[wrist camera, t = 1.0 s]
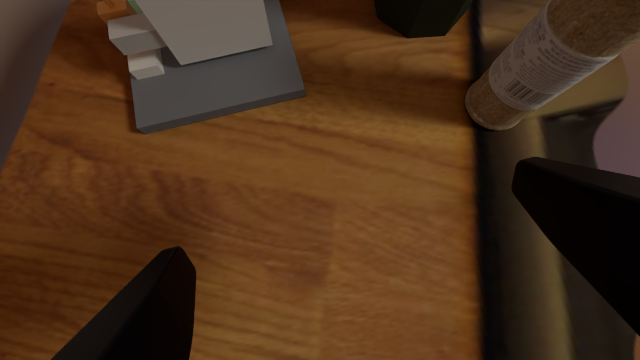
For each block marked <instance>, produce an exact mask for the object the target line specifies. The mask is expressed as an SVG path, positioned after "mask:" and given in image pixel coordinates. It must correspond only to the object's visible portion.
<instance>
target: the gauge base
mask: <svg viewBox="0 0 640 360" xmlns="http://www.w3.org/2000/svg"><path fill="white" fill-rule="evenodd" d="M263 1H264V6H265V10H266V15H267V20H268V25H269V30H270V34H271V39H272V44H273V45H270V46H266V47H261V48H257V49H252V50H248V51H243V52H239V53H234V54H230V55H225V56H221V57H216V58H212V59H207V60H202V61H198V62H193V63H189V64H184V65H181V64H180V63H179V62H178V60H177V59H176V57H175V56H174V55H173V53H172V52H171V50H170V49H169V48H168V46H166V47H162V48H157V49H152V50H148V51H143V52H139V53H134V54H129V55H127V57H128V65H129V72H130V78H131V86H132V94H133V102H134V110H135V118H136V127H137V129H138V130H139V131H141V132H142V133H144V134H148V133H152V132H156V131H161V130H165V129H169V128H173V127H177V126H182V125H186V124H190V123H194V122H198V121H203V120H207V119H211V118H215V117H220V116H224V115H228V114H232V113H236V112H241V111H245V110H249V109H253V108H257V107H262V106H266V105H270V104H274V103H278V102H283V101H287V100H291V99H295V98H300V97H304V96H306V95H305V87H304V83H303V80H302V77H301V73H300V70H299V66H298V63H297V60H296V56H295V53H294V49H293V46H292V43H291V39H290V36H289V32H288V29H287V26H286V22H285V19H284V15H283V12H282V8H281V5H280V2H279V0H263ZM128 2H129V3H130V4H131V6H132V7H133V8H134V10H135V11H136V12H137V14H141V13H143V11H142V10H141V8H140V7H139V6H138V4H137V3H136V1H135V0H128Z"/></svg>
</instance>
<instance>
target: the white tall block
mask: <svg viewBox="0 0 640 360" xmlns="http://www.w3.org/2000/svg"><path fill="white" fill-rule="evenodd" d="M135 1H136V3H137V4H138V6H139V7H140V8H141V10H142V11H143V13H141V14H136V15H132V16H127V17H122V18H117V19H112V20H107V22H108V31H109V40H110V41H111V42H112V43H113V44H114V45H115V46H116V47H117V48H118V49H119V50H120V51H121V52H122V53H123V54H124V55H129V54H134V53H139V52H143V51H148V50H152V49H157V48H162V47H166V46H168V48H169V49H170V50H171V52H172V53H173V55H174V56H175V57H176V59H177V60H178V62H179V63H180V64H181V65H184V64H189V63H193V62H198V61H202V60H207V59H212V58H216V57H221V56H225V55H230V54H234V53H239V52H243V51H248V50H252V49H257V48H261V47H266V46H270V45H273V44H272V39H271V34H270V30H269V25H268V20H267V15H266V10H265V6H264V1H263V0H135Z"/></svg>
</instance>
